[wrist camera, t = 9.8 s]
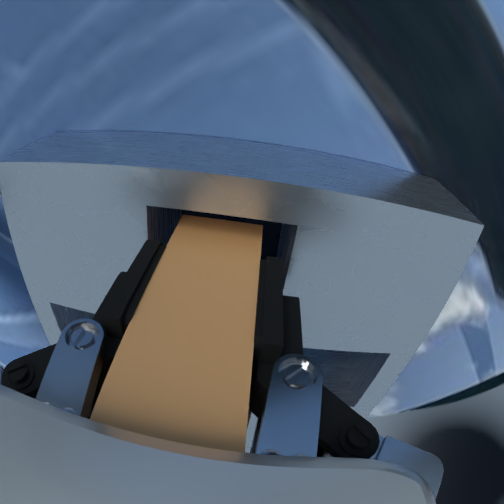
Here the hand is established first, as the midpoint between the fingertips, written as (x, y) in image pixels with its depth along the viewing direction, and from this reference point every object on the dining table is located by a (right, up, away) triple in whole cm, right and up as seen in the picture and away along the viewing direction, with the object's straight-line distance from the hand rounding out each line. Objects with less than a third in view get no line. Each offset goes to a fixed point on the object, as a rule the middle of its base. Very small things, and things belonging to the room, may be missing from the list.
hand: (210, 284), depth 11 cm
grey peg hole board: (0, -2, +8) cm, 8 cm away
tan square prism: (0, +1, +2) cm, 2 cm away
